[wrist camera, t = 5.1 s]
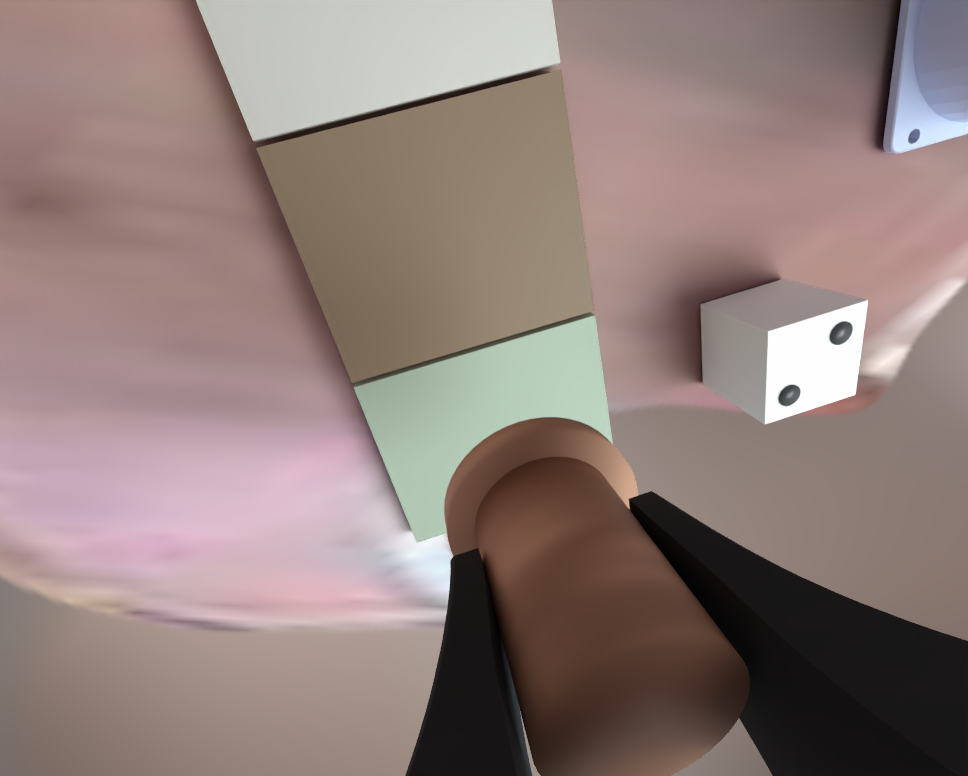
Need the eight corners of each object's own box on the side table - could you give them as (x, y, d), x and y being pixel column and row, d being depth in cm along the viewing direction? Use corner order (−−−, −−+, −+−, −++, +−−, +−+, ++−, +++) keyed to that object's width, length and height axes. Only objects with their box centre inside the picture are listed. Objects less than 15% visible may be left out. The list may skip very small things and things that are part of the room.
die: (783, 278, 21) (869, 300, 17) (779, 359, 22) (856, 395, 19) (700, 304, 20) (769, 331, 17) (703, 384, 22) (765, 425, 18)
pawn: (613, 392, 12) (797, 557, 7) (632, 540, 14) (781, 754, 9) (420, 452, 12) (449, 679, 6) (470, 594, 14) (523, 853, 9)
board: (500, -317, 12) (505, -337, 11) (612, 471, 23) (617, 476, 23) (102, -241, 11) (90, -258, 11) (416, 535, 22) (416, 542, 22)
